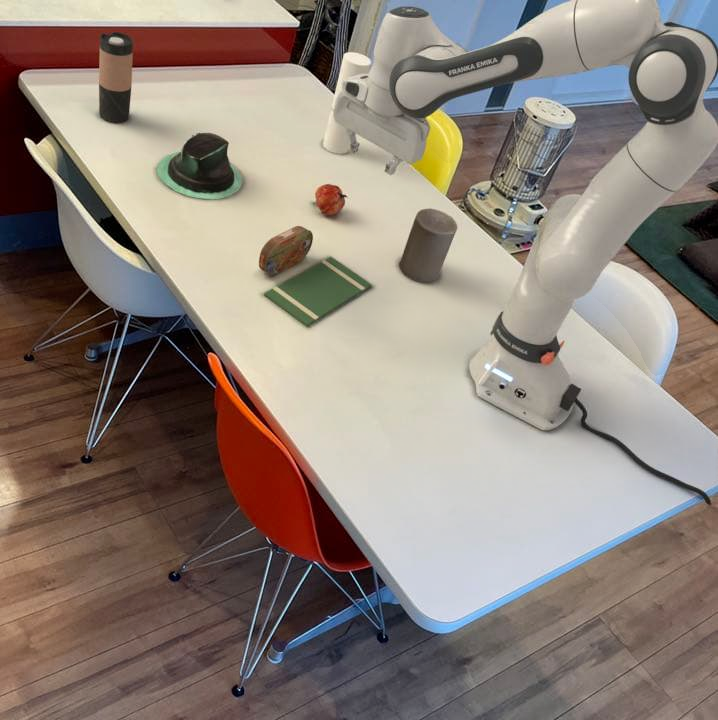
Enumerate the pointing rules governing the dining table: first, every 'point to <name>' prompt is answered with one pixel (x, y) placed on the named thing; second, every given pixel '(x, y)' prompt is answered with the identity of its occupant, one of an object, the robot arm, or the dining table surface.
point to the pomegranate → (329, 199)
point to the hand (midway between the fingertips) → (370, 161)
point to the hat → (201, 168)
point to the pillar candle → (427, 245)
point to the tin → (285, 250)
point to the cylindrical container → (336, 132)
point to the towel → (317, 291)
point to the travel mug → (115, 76)
